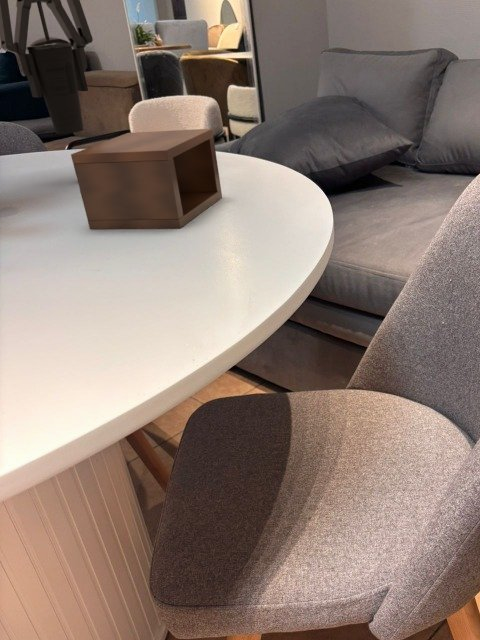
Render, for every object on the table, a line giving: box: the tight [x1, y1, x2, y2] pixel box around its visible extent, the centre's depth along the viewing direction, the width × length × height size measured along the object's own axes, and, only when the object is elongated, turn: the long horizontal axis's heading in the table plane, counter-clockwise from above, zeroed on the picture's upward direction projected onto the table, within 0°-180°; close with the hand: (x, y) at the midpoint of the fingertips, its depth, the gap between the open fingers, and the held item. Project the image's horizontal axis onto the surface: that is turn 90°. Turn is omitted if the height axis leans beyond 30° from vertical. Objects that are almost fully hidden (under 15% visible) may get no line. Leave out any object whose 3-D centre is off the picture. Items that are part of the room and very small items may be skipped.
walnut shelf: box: [70, 128, 223, 230], centre depth 92 cm, size 14×16×10 cm
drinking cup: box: [26, 1, 84, 135], centre depth 109 cm, size 8×8×20 cm
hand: (60, 93), depth 111 cm, fingers closed on drinking cup, 8 cm apart
